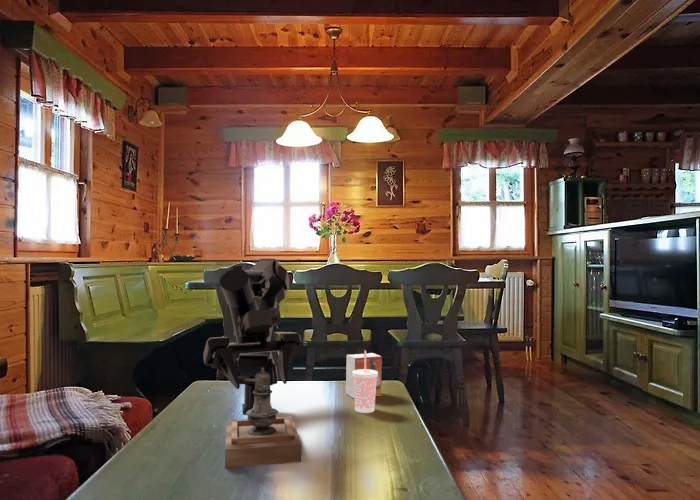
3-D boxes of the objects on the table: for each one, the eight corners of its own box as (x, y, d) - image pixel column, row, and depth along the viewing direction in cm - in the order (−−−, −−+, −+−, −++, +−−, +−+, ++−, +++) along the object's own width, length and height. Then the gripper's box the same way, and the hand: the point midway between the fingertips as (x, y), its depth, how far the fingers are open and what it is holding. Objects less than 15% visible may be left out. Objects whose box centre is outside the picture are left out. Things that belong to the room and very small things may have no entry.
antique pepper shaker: (265, 438, 91) (266, 371, 91) (239, 433, 93) (240, 368, 94) (283, 429, 96) (284, 365, 96) (258, 424, 99) (259, 362, 99)
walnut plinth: (226, 435, 101) (227, 416, 101) (291, 431, 104) (292, 412, 104) (224, 467, 85) (225, 444, 85) (301, 461, 88) (301, 439, 88)
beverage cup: (346, 409, 120) (347, 350, 120) (366, 404, 124) (366, 347, 124) (363, 415, 115) (363, 353, 116) (383, 410, 119) (383, 351, 119)
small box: (353, 399, 129) (354, 357, 129) (345, 394, 134) (345, 354, 134) (382, 396, 132) (382, 355, 132) (372, 391, 137) (373, 352, 137)
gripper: (207, 295, 96) (220, 364, 86) (299, 293, 104) (320, 356, 94) (198, 331, 103) (209, 399, 93) (285, 327, 111) (303, 388, 101)
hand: (262, 385), depth 95 cm, fingers open, 9 cm apart
